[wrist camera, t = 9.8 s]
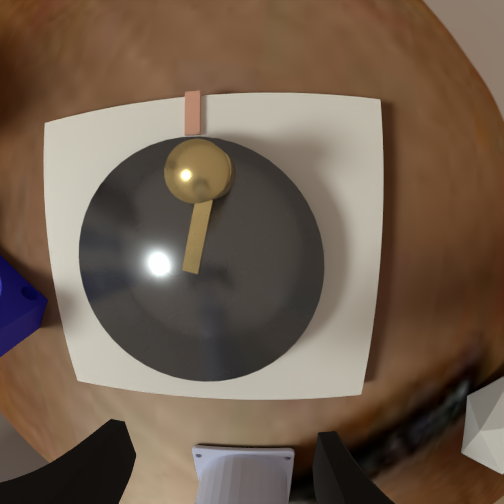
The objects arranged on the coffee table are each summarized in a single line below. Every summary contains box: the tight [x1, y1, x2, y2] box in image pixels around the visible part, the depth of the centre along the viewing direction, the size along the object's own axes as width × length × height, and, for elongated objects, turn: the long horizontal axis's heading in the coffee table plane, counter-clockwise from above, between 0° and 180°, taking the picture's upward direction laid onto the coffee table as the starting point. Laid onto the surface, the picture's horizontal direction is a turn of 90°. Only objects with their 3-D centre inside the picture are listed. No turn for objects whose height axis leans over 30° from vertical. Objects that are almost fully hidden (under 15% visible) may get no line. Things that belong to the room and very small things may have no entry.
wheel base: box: [44, 91, 383, 400], centre depth 17 cm, size 18×20×2 cm
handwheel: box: [79, 136, 325, 382], centre depth 14 cm, size 13×13×4 cm
